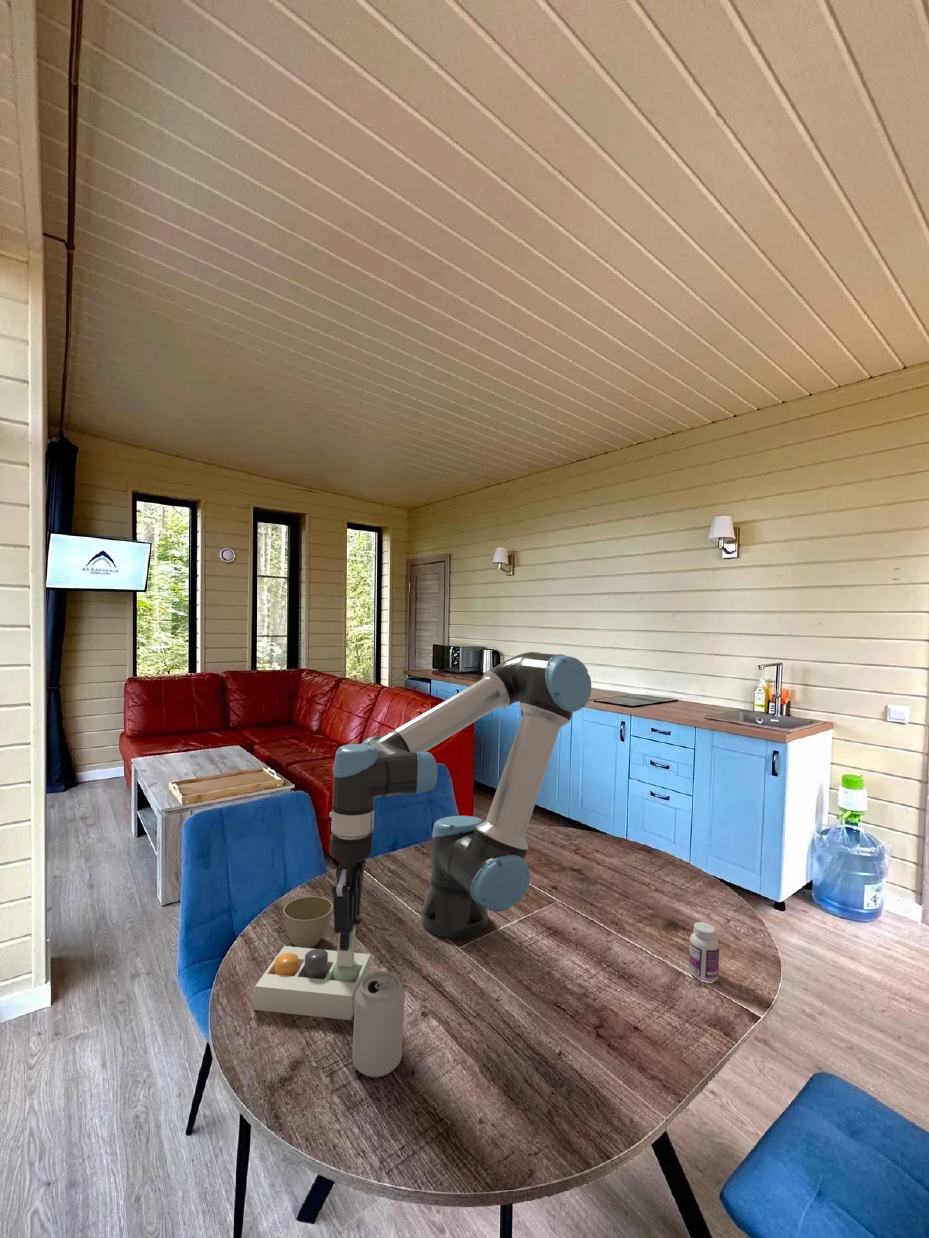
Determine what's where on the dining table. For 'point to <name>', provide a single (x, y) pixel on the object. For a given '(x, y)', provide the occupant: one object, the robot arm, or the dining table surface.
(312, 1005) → the white compartment box
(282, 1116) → the dining table surface
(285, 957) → the orange rounded piece
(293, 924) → the flower pot
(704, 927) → the pill bottle
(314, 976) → the black button
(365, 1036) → the can
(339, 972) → the green button
